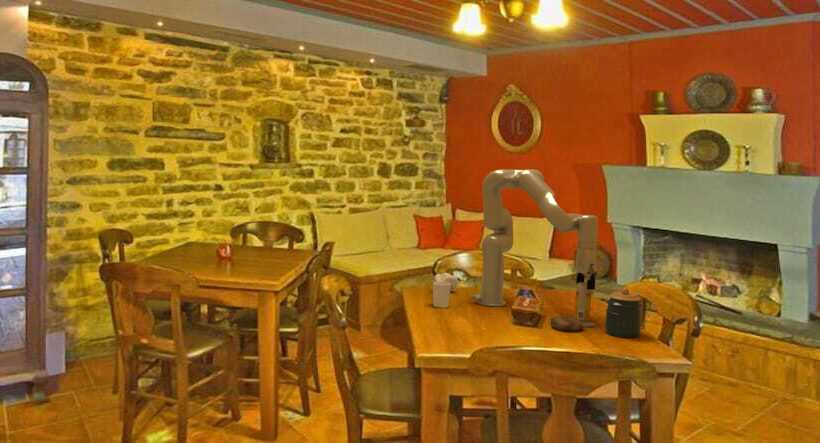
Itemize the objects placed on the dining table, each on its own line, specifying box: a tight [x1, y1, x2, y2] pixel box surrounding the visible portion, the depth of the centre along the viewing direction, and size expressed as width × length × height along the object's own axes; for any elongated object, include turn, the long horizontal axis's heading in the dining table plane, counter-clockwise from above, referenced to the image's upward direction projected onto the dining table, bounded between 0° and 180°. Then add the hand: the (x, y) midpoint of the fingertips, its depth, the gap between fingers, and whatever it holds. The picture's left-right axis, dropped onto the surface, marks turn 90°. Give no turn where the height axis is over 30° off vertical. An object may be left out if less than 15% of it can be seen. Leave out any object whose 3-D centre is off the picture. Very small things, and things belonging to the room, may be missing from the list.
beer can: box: [573, 282, 593, 322], centre depth 246 cm, size 6×6×15 cm
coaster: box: [582, 321, 596, 328], centre depth 239 cm, size 7×7×1 cm
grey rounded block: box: [434, 272, 459, 292], centre depth 289 cm, size 11×12×9 cm
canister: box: [604, 287, 644, 339], centre depth 228 cm, size 13×13×18 cm
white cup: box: [432, 281, 451, 309], centre depth 261 cm, size 8×8×10 cm
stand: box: [550, 315, 584, 333], centre depth 233 cm, size 12×12×3 cm
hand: (585, 287), depth 245 cm, fingers open, 9 cm apart
